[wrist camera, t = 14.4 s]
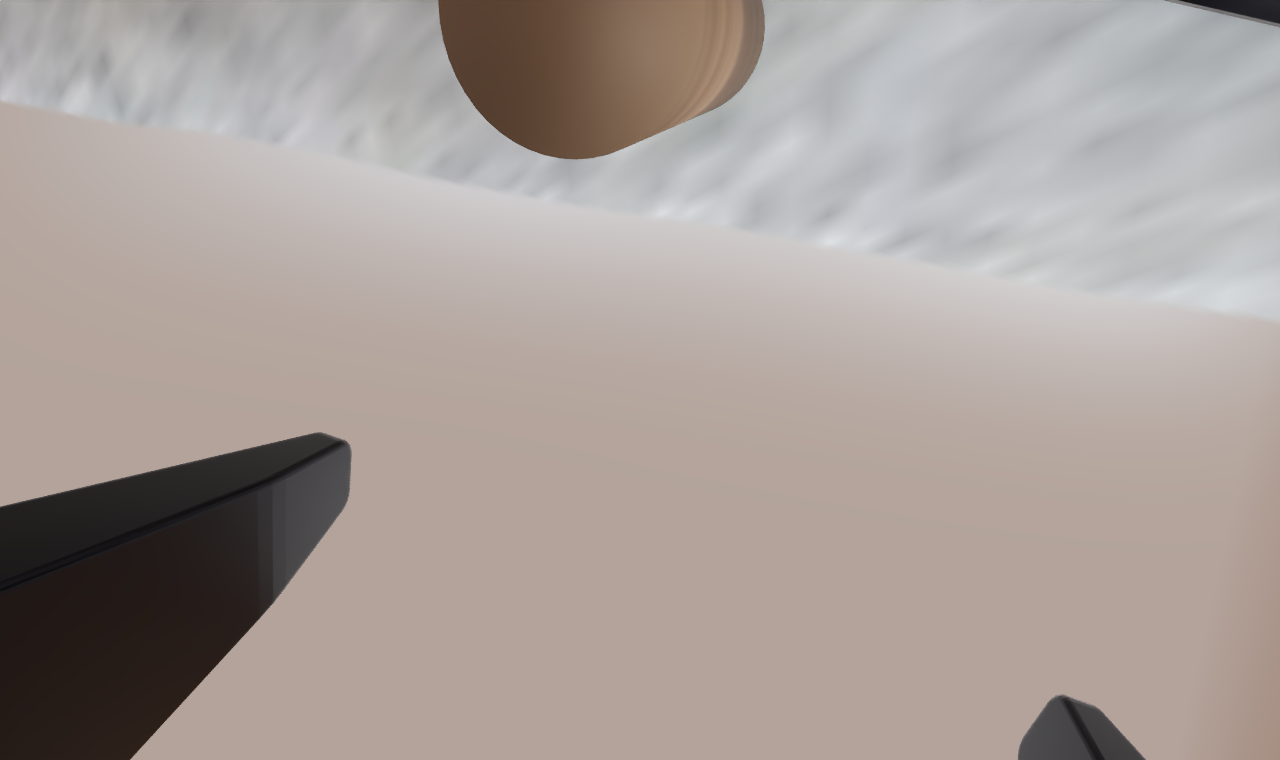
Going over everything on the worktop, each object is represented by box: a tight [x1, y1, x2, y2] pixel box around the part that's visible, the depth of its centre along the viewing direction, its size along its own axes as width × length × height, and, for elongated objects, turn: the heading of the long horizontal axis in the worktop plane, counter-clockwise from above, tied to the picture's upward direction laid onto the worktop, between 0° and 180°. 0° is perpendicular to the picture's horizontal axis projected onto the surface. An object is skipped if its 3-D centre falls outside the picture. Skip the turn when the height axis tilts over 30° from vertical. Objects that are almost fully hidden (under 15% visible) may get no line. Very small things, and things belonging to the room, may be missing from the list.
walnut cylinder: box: [439, 0, 765, 159], centre depth 14 cm, size 4×4×9 cm
